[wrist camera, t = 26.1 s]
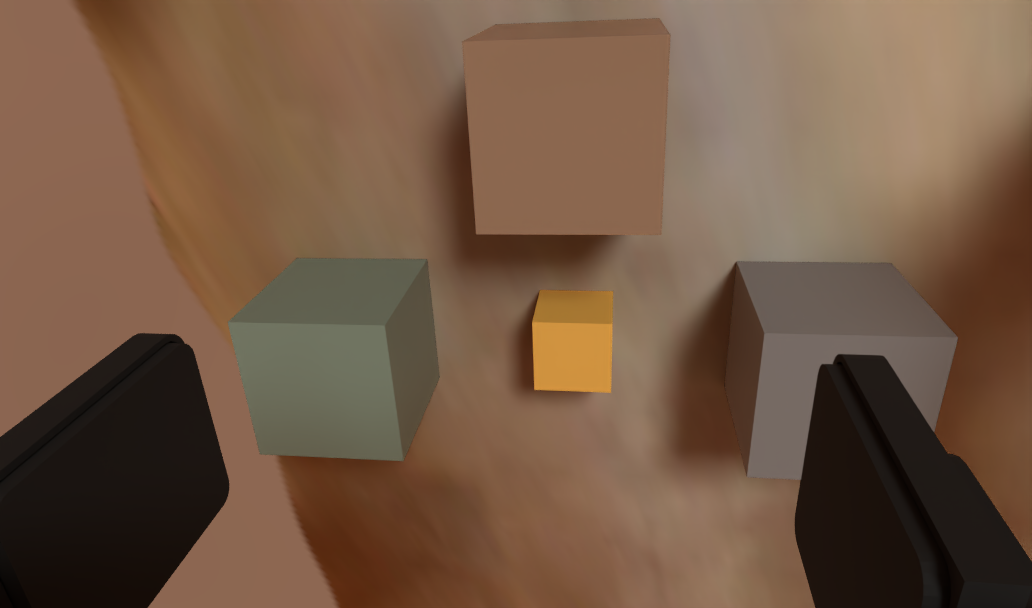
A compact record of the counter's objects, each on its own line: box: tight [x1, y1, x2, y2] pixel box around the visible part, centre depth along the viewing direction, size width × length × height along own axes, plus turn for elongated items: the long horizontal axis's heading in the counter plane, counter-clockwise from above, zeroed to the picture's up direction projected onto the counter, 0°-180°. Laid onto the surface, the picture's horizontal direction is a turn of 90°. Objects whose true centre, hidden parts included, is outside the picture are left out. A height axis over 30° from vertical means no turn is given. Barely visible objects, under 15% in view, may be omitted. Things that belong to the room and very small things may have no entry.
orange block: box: [532, 290, 613, 393], centre depth 38 cm, size 4×4×4 cm
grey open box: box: [724, 262, 958, 480], centre depth 35 cm, size 8×8×8 cm
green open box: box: [228, 258, 440, 461], centre depth 38 cm, size 8×8×8 cm
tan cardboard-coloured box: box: [462, 18, 670, 235], centre depth 31 cm, size 8×8×8 cm
